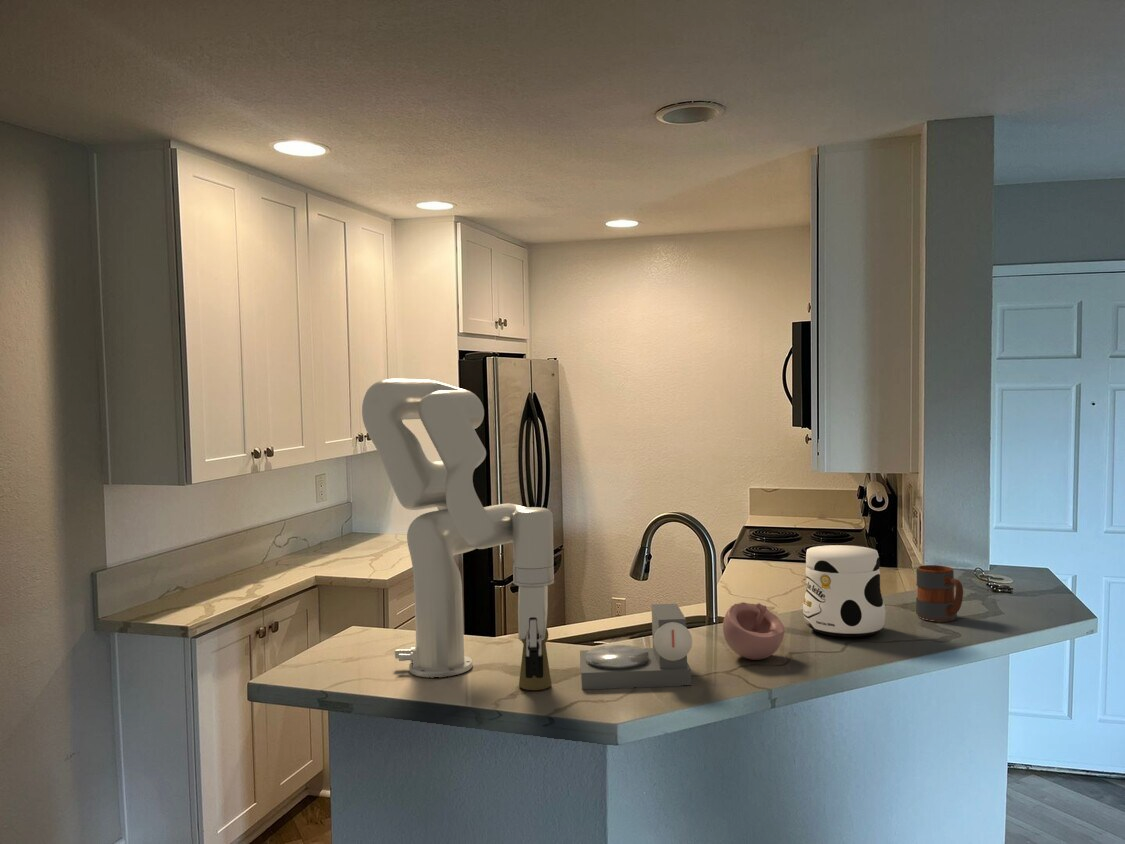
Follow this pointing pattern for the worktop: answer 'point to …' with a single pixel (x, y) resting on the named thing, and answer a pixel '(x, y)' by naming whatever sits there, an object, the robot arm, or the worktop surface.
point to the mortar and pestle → (752, 630)
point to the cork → (534, 682)
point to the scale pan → (617, 657)
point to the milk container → (843, 591)
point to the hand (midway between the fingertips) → (534, 671)
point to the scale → (650, 657)
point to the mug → (937, 593)
